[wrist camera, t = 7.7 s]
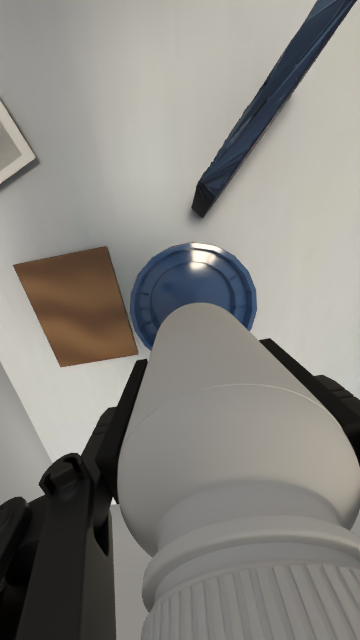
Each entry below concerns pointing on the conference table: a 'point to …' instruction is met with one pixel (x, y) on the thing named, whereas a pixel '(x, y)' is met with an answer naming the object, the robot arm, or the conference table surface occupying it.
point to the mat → (79, 306)
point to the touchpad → (11, 147)
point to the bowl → (190, 287)
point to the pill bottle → (238, 492)
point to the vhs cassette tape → (270, 99)
